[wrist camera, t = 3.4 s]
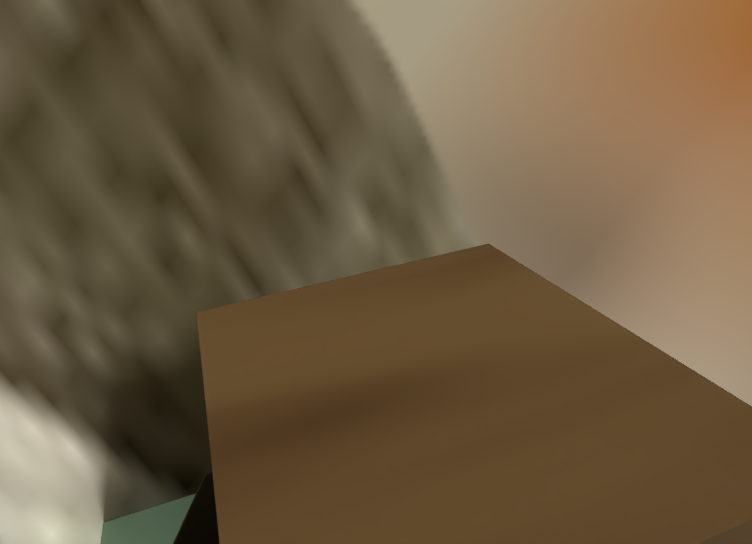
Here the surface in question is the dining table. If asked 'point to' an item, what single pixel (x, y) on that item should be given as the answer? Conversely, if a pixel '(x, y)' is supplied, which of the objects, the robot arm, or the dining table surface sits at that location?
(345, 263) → the dining table surface
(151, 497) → the dining table surface
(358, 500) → the walnut block
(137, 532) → the teal block
